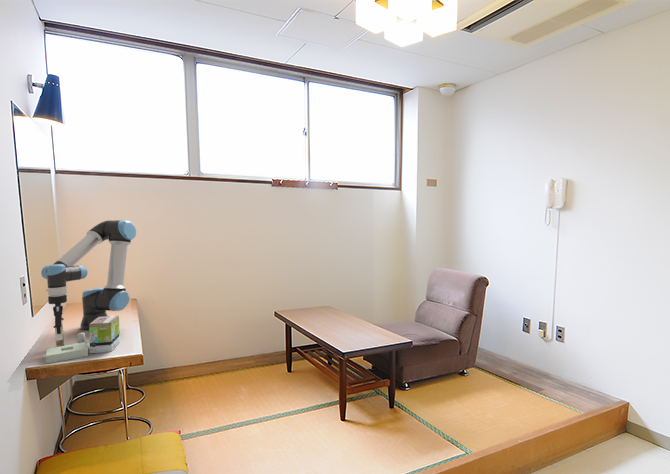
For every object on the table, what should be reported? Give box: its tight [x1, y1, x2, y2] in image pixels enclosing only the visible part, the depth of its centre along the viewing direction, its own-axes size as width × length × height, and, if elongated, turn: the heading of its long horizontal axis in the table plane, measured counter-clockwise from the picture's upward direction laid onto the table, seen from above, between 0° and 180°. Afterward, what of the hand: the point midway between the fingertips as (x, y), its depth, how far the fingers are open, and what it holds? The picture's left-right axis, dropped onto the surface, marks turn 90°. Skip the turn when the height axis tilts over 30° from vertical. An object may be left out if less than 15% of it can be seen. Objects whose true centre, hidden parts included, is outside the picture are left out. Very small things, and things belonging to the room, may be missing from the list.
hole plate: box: [45, 341, 89, 364], centre depth 182 cm, size 16×12×4 cm
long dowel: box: [55, 320, 65, 347], centre depth 193 cm, size 3×3×14 cm
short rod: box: [77, 331, 86, 343], centre depth 194 cm, size 3×3×7 cm
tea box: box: [88, 315, 121, 354], centre depth 192 cm, size 15×10×15 cm
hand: (59, 336), depth 193 cm, fingers open, 13 cm apart
